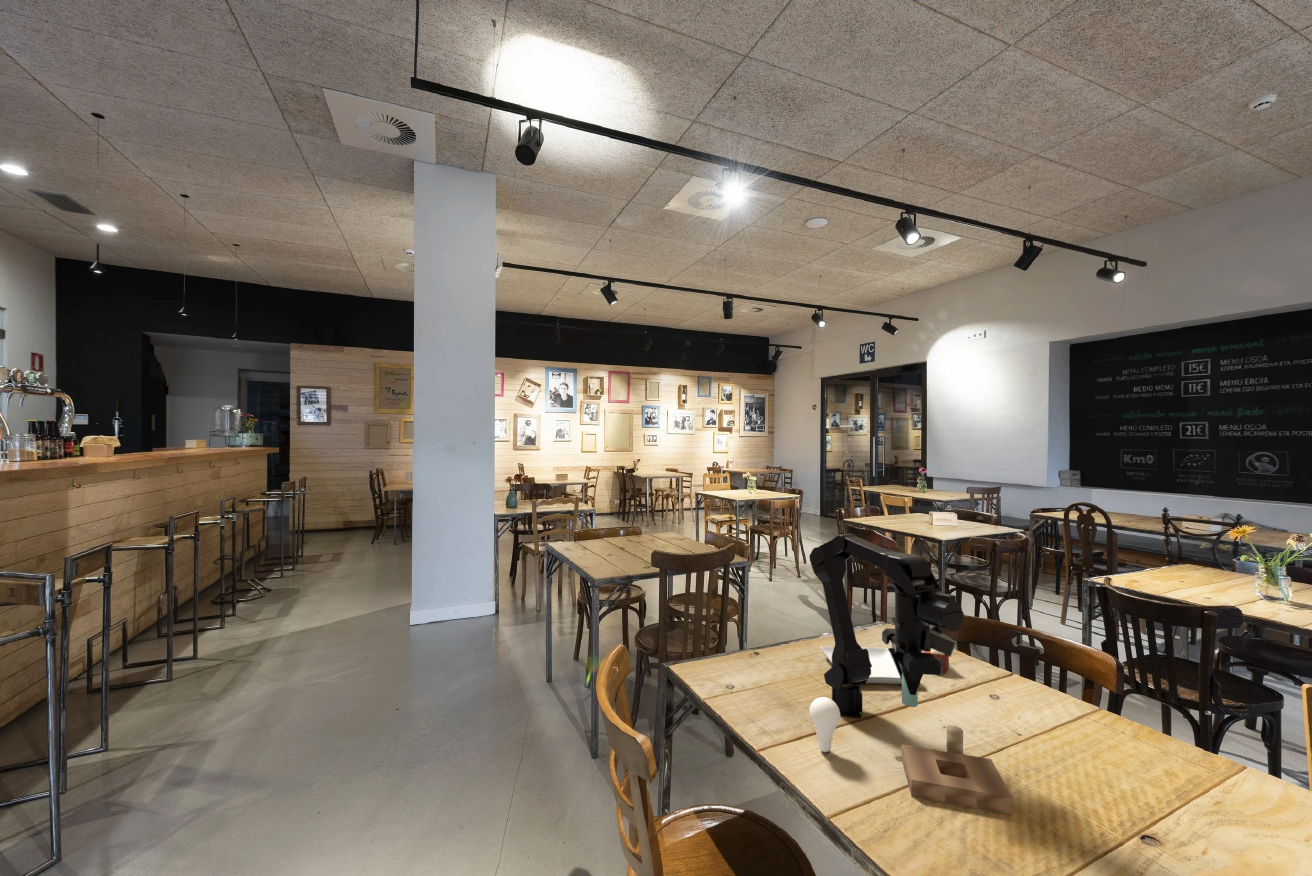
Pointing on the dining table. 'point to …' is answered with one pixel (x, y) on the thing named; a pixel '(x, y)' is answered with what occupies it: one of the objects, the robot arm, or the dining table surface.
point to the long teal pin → (908, 695)
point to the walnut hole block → (955, 779)
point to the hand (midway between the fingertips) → (909, 691)
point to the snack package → (940, 659)
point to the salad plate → (876, 665)
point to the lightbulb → (824, 720)
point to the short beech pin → (954, 739)
